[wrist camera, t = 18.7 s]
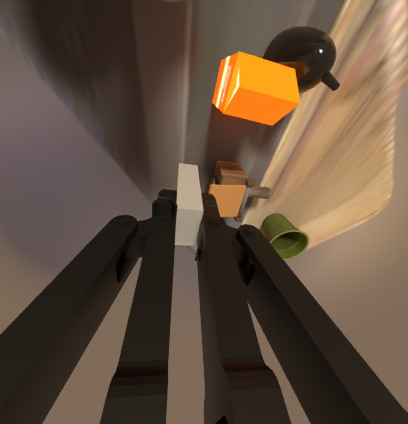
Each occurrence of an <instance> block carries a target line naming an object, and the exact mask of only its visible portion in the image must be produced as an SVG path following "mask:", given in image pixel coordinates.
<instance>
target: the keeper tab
mask: <svg viewBox="0 0 408 424" xmlns="http://www.w3.org/2000/svg"><path fill="white" fill-rule="evenodd" d="M250 190H251V186H247V185H246V186H245V185H210V187H209V192H208V194H212V195H213V196H214V197H215V198H216V202H217V206H218V210H219V214H220V217H236V216H238V217H241V216H242V213H243V210H244V207H245V205H246V202H247V199H248V196H249V193H250Z"/></svg>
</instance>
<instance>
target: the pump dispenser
mask: <svg viewBox="0 0 408 424" xmlns="http://www.w3.org/2000/svg"><path fill="white" fill-rule="evenodd" d="M263 59H265V60H268V61H271V62H274V63H277V64H280V65H284V66H287V67H290V68H293V69H295V73H296V79H297V86H298V92H299V94H302V93H304V92H306V91H308V90H310V89H312V88H314V87H315V86H316V85H318V84H319V83H320V82H323V83H324V84H325V85H327V86H328V87H329V88H330V89H332V90H333V91H335V90H337V89H338V88H339V86H340V84H339V83H338V81H337V80H336V79H335V78H334V76H333V75H332V74H331V73H330V70H331V69H332V67H333V65H334V62H335V59H336V47H335V44H334V42H333V40H332V38H331V37H330V36H329V35H328V34H326V33H325V32H323V31H321V30H319V29H316V28H313V27H308V26H298V27H292V28H289V29H287V30H285V31H283V32H281V33H280V34H278V35H277V36H276V37H275V38H274V39H273V40H272V42H271V43H270V44H269V46H268V48H267V49H266V51H265V54H264V56H263Z"/></svg>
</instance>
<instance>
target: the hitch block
mask: <svg viewBox="0 0 408 424" xmlns="http://www.w3.org/2000/svg"><path fill="white" fill-rule="evenodd" d="M213 176H215V177H216V178H217V181H218V183H219V184H218V185H245V186H246V185H247V186H251V187H254V186H255V182H254V181H253V180H250V179H248V177H247V176H246V174H245V172H244V171H243V169H242V168H241V166H240V164H239V163H235V162H227V161H220V160H216V165H215V169H214V174H213ZM234 218H235V221H236V222H242V220H243V219H242V216H241V217H238V216H236V217H234Z"/></svg>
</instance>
